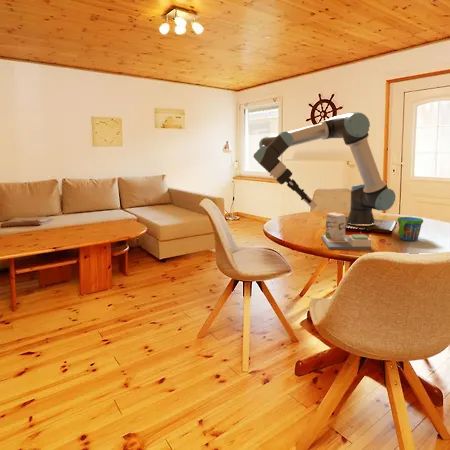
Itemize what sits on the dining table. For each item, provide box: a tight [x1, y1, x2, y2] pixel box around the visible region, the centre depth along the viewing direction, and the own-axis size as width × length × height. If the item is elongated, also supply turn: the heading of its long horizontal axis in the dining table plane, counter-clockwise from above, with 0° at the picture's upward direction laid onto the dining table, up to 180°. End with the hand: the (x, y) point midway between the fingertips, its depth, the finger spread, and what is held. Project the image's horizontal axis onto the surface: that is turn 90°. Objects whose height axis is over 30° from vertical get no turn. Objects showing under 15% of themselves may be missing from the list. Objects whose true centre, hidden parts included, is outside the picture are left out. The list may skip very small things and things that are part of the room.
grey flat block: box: [320, 234, 372, 250], centre depth 166 cm, size 18×21×4 cm
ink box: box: [325, 211, 347, 240], centre depth 170 cm, size 8×5×12 cm, turn 24°
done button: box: [351, 234, 369, 239], centre depth 159 cm, size 6×6×2 cm
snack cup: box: [396, 216, 424, 242], centre depth 169 cm, size 16×10×10 cm
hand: (313, 204), depth 169 cm, fingers open, 13 cm apart
